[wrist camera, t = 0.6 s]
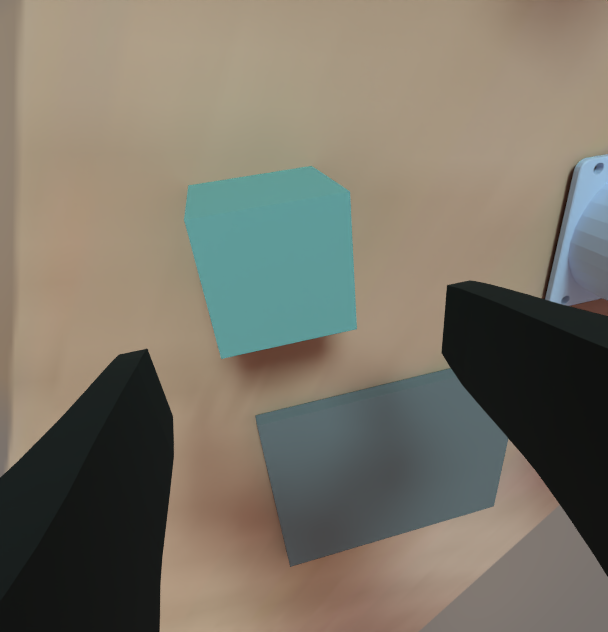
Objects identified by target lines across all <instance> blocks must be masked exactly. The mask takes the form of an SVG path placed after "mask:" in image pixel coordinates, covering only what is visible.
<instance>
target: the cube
mask: <svg viewBox="0 0 608 632" xmlns="http://www.w3.org/2000/svg"><path fill="white" fill-rule="evenodd" d="M184 221H185V224H186V228H187V232H188V236H189V239H190V243H191V247H192V251H193V254H194V258H195V262H196V266H197V269H198V273H199V277H200V281H201V284H202V288H203V292H204V296H205V299H206V303H207V307H208V311H209V314H210V318H211V322H212V326H213V329H214V333H215V337H216V341H217V344H218V348H219V352H220V356H221V359H223V358H227V357H232V356H236V355H241V354H246V353H250V352H255V351H259V350H264V349H268V348H273V347H277V346H282V345H286V344H291V343H296V342H300V341H305V340H309V339H314V338H318V337H323V336H327V335H332V334H337V333H341V332H346V331H350V330H355V329H357V324H356V304H355V284H354V264H353V244H352V224H351V204H350V191H348V190H347V189H345V188H344V187H342V186H341V185H339V184H338V183H336V182H335V181H333V180H332V179H330V178H329V177H327V176H326V175H324V174H323V173H321V172H320V171H318V170H317V169H315V168H314V167H312V166H309V167H302V168H296V169H290V170H283V171H277V172H271V173H265V174H258V175H252V176H246V177H239V178H233V179H227V180H220V181H214V182H208V183H202V184H195V185H189V186H188V193H187V202H186V210H185V218H184Z"/></svg>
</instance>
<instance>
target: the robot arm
mask: <svg viewBox="0 0 608 632" xmlns="http://www.w3.org/2000/svg"><path fill="white" fill-rule="evenodd" d="M596 165H597V167H596V169H595V170H594V168H595V166H596ZM562 298H563V299H562ZM601 298H603V299H605V300H607V301H608V154H606V155H600V156H594V157H588V158H584V159H582V160H581V161H580V162H578V164H577V165H576V167H575V169H574V173H573V177H572V182H571V186H570V191H569V195H568V200H567V204H566V209H565V213H564V218H563V222H562V226H561V231H560V235H559V240H558V244H557V249H556V253H555V258H554V262H553V267H552V271H551V276H550V280H549V284H548V289H547V293H546V298H545V299H541V298H538V297H534V296H531V295H527V294H524V293H520V292H517V291H513V290H509V289H506V288H502V287H498V286H494V285H490V284H486V283H481V282H476V281H465V282H460V283H456V284H451V285H447V293H446V305H445V318H444V330H443V342H442V354H443V356H444V358H445V359H446V361H447V363H448V364H449V366H450V367H451V369H452V371H453V372H454V374H455V375H456V377H457V378H458V380H459V381H460V383H461V384H462V385H463V386H464V388H465V389H466V390H467V391H468V393H469V394H470V395H471V396H472V397H473V398H474V399H475V401H476V402H477V403H478V404H479V405H480V406H481V408H482V409H483V410H484V411H485V412H486V413H487V415H488V416H489V417H490V418H491V419H492V420H493V421H494V422H495V424H496V425H497V426H498V427H499V428H500V429H501V430H502V432H503V433H504V434H505V435H506V436H507V437H508V438H509V440H510V441H511V442H512V443H513V444H514V445H515V446H516V448H517V449H518V450H519V451H520V452H521V453H522V454H523V456H524V457H525V458H526V459H527V461H528V462H529V463H530V464H531V466H532V467H533V468H534V469H535V470H536V472H537V473H538V474H539V476H540V477H541V479H542V480H543V481H544V483H545V484H546V486H547V487H548V488H549V490H550V491H551V493H552V494H553V495H554V497H555V498H556V500H557V501H558V502H559V504H560V505H561V507H562V508H563V509H564V511H565V512H566V514H567V515H568V517H569V518H570V520H571V521H572V523H573V524H574V526H575V527H576V528H577V530H578V532H579V533H580V535H581V536H582V538H583V539H584V541H585V542H586V544H587V545H588V546H589V548H590V549H591V551H592V552H593V554H594V555H595V557H596V559H597V560H598V562H599V563H600V565H601V567H602V568H603V570H604V571H605V573H606V575H607V576H608V316H605V315H601V314H597V313H593V312H589V311H585V310H581V309H577V308H574V307H570V306H571V305H575V304H579V303H584V302H588V301H592V300H597V299H601ZM173 459H174V435H173V415H172V413H171V410H170V407H169V405H168V402H167V399H166V397H165V394H164V392H163V389H162V386H161V384H160V381H159V378H158V376H157V373H156V370H155V368H154V365H153V362H152V360H151V357H150V354H149V352H148V349H144V350H139V351H134V352H130V353H125V354H120V355H118V356H117V357H116V358H115V359H114V360H113V361H112V362H111V363H110V364H109V365H108V366H107V368H106V369H105V370H104V371H103V372H102V373H101V374H100V375H99V376H98V378H97V379H96V380H95V381H94V382H93V383H92V384H91V385H90V386H89V388H88V389H87V390H86V391H85V392H84V393H83V394H82V395H81V396H80V398H79V399H78V400H77V401H76V402H75V403H74V404H73V405H72V406H71V407H70V408H69V410H68V411H67V412H66V413H65V414H64V415H63V416H62V417H61V418H60V419H59V420H58V421H57V422H56V423H55V424H54V425H53V426H52V427H51V428H50V429H49V430H48V431H47V433H46V434H45V435H44V436H43V437H42V438H41V439H40V440H39V441H38V442H37V443H36V444H35V445H34V446H33V447H32V448H31V449H30V450H29V451H28V452H27V453H26V454H25V455H24V456H23V457H22V458H21V459H20V460H19V461H18V462H17V463H16V464H14V465H13V466H12V467H11V468H10V469H9V470H8V471H7V472H6V473H5V474H4V475H3V476H2V477H0V632H159V630H160V581H161V567H162V555H163V546H164V538H165V529H166V521H167V512H168V504H169V496H170V487H171V478H172V469H173Z"/></svg>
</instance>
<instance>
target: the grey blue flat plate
mask: <svg viewBox="0 0 608 632" xmlns="http://www.w3.org/2000/svg"><path fill="white" fill-rule="evenodd" d="M256 422H257V427H258V431H259V436H260V440H261V444H262V448H263V453H264V457H265V461H266V465H267V470H268V474H269V478H270V482H271V487H272V491H273V495H274V500H275V504H276V508H277V512H278V517H279V521H280V525H281V529H282V534H283V538H284V542H285V546H286V551H287V555H288V559H289V563H290V567H291V566H294V565H298V564H301V563H305V562H308V561H311V560H315V559H318V558H321V557H325V556H328V555H331V554H335V553H338V552H342V551H345V550H348V549H352V548H355V547H358V546H362V545H365V544H368V543H372V542H375V541H379V540H382V539H385V538H389V537H392V536H395V535H399V534H402V533H405V532H409V531H412V530H416V529H419V528H422V527H426V526H429V525H432V524H436V523H439V522H442V521H446V520H449V519H453V518H456V517H459V516H463V515H466V514H469V513H473V512H476V511H479V510H483V509H486V508H490V507H493V506H494V503H495V498H496V493H497V489H498V484H499V479H500V475H501V470H502V465H503V461H504V456H505V451H506V447H507V442H508V437H507V436H506V435H505V434H504V433H503V432H502V430H501V429H500V428H499V427H498V426H497V425H496V424H495V422H494V421H493V420H492V419H491V418H490V417H489V416H488V415H487V413H486V412H485V411H484V410H483V409H482V408H481V406H480V405H479V404H478V403H477V402H476V401H475V399H474V398H473V397H472V396H471V395H470V394H469V393H468V391H467V390H466V389H465V388H464V386H463V385H462V384H461V383H460V381H459V380H458V378H457V377H456V375H455V374H454V372H453V371H452V369H451V368H450V369H446V370H442V371H438V372H434V373H430V374H426V375H421V376H417V377H413V378H409V379H405V380H401V381H397V382H392V383H388V384H384V385H380V386H376V387H372V388H368V389H363V390H359V391H355V392H351V393H347V394H343V395H339V396H334V397H330V398H326V399H322V400H318V401H314V402H310V403H305V404H301V405H297V406H293V407H289V408H285V409H281V410H277V411H272V412H268V413H264V414H260V415H256Z"/></svg>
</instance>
